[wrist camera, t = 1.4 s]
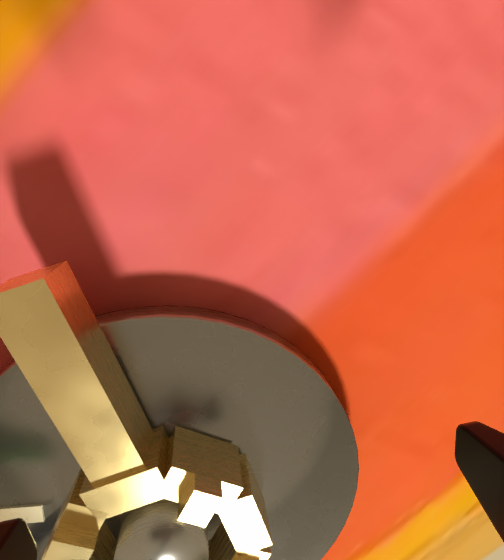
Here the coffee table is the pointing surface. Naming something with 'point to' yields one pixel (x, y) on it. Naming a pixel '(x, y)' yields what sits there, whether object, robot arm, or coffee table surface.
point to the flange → (202, 419)
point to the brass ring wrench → (119, 432)
